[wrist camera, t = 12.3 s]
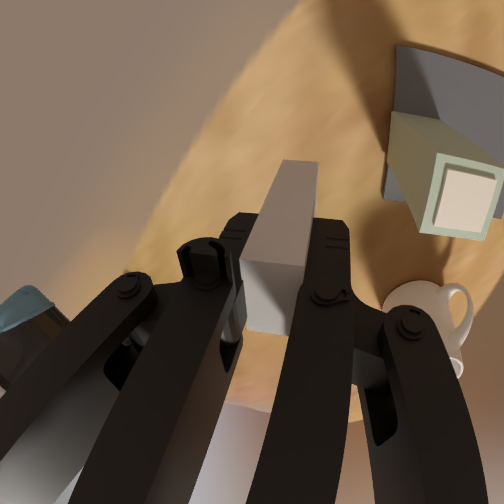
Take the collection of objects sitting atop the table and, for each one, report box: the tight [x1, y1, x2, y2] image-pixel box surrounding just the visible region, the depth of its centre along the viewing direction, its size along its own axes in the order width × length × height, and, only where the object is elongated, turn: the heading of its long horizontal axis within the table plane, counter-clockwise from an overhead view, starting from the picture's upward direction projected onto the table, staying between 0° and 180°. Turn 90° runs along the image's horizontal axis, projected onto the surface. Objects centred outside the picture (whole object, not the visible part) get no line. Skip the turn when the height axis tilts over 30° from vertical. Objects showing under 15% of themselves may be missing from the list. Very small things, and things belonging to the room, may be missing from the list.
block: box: [387, 111, 504, 241], centre depth 16 cm, size 4×4×11 cm
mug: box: [382, 280, 473, 379], centre depth 26 cm, size 9×12×11 cm
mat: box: [382, 45, 504, 219], centre depth 19 cm, size 14×14×1 cm
